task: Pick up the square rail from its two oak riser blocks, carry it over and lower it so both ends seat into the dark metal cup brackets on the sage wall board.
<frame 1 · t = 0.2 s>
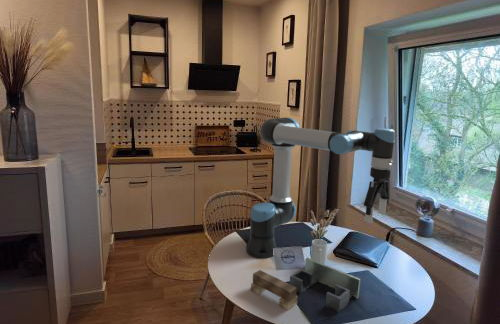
hand: (375, 217, 144), 28 cm above the table, fingers open, 13 cm apart
rail: (273, 289, 134), point 3 cm above the table, touching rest
bracket: (318, 295, 137), on the table
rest: (273, 296, 135), on the table
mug: (317, 269, 157), on the table
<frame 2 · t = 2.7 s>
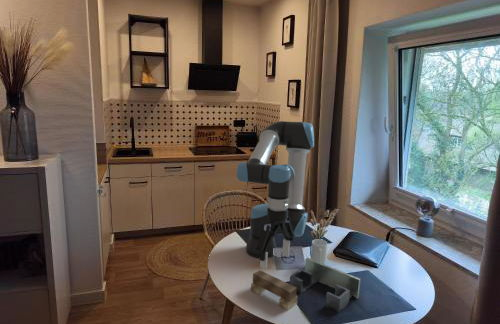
hand: (275, 261, 132), 15 cm above the table, fingers open, 13 cm apart
nothing on the table moved.
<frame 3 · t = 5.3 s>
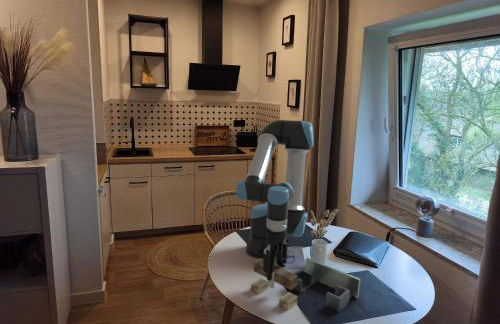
hand: (274, 283, 135), 5 cm above the table, fingers closed on rail, 4 cm apart
rail: (274, 277, 134), point 8 cm above the table, touching gripper
everything else where it was.
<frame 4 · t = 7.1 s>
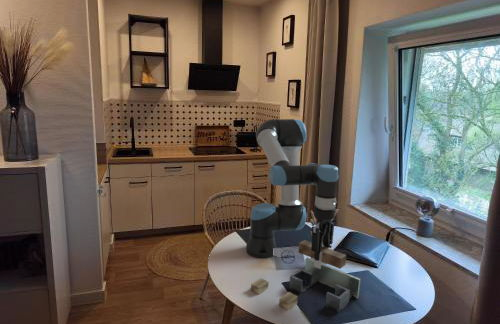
hand: (320, 264, 134), 13 cm above the table, fingers closed on rail, 4 cm apart
rail: (321, 258, 133), point 16 cm above the table, touching gripper
everything else where it was.
when the fingers open (0 cm above the table, at t = 9.0 s): rail drops 2 cm, resting on bracket.
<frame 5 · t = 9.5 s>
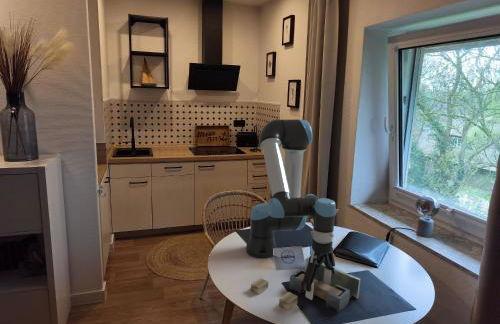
hand: (318, 291, 136), 2 cm above the table, fingers open, 12 cm apart
rail: (318, 293, 136), point 1 cm above the table, touching bracket
everything else where it was.
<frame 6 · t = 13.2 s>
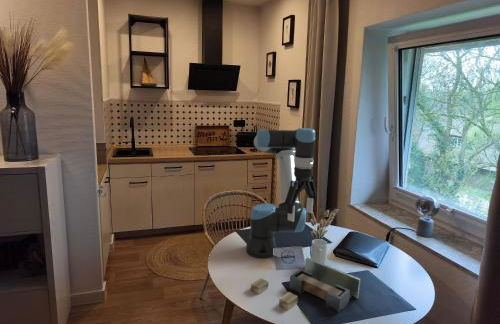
hand: (300, 216, 146), 27 cm above the table, fingers open, 13 cm apart
nothing on the table moved.
at the end: rail 0.1 cm off-centre on the bracket, point 1.0 cm above the bracket's base; rail tilted 0°; the gripper is holding nothing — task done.
